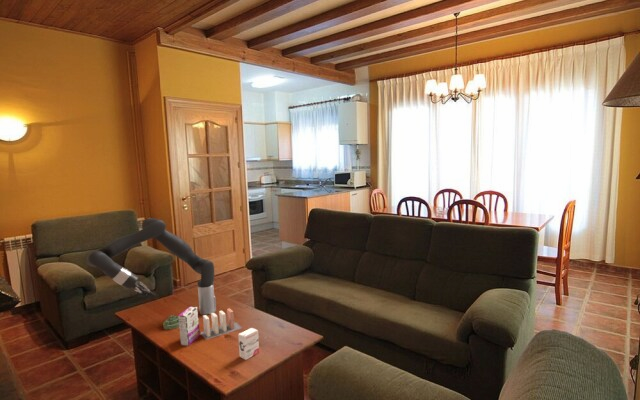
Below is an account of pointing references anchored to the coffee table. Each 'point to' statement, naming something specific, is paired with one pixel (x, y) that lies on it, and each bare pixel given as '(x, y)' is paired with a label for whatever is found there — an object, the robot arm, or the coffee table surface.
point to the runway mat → (221, 331)
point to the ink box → (248, 343)
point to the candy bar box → (189, 326)
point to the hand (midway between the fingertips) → (154, 297)
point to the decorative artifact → (171, 322)
